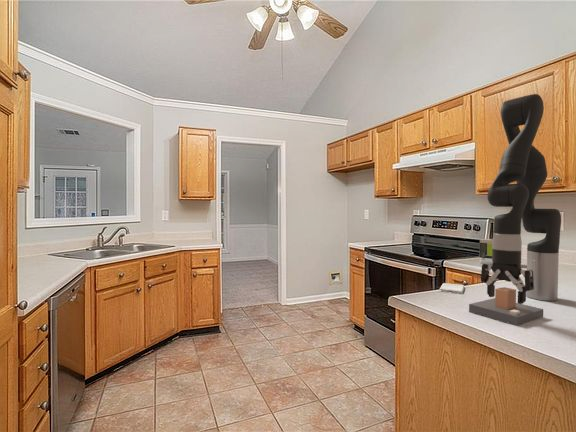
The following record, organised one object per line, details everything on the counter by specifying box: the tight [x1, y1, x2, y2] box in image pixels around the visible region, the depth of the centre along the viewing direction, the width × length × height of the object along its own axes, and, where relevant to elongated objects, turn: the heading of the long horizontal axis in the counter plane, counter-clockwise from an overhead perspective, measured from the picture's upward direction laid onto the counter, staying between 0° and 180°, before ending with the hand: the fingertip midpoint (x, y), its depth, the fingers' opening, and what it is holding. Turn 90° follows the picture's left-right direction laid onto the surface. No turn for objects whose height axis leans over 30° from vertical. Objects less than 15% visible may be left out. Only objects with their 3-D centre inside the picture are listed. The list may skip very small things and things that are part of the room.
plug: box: [494, 286, 517, 309], centre depth 101 cm, size 5×4×8 cm
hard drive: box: [438, 282, 465, 295], centre depth 133 cm, size 2×8×12 cm
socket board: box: [468, 297, 544, 327], centre depth 101 cm, size 15×14×3 cm
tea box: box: [479, 238, 493, 265], centre depth 195 cm, size 15×10×15 cm, turn 34°
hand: (505, 299), depth 101 cm, fingers open, 8 cm apart
